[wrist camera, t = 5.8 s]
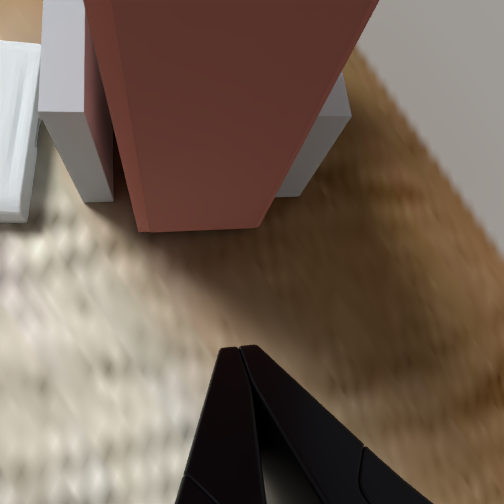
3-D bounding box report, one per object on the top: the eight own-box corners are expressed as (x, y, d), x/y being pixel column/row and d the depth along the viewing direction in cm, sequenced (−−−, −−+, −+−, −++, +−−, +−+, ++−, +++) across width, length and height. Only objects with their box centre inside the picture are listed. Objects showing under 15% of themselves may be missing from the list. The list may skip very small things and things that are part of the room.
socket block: (299, 196, 19) (417, 17, 10) (83, 202, 17) (-25, -15, 8) (274, 41, 21) (348, -217, 12) (84, 31, 20) (5, -283, 10)
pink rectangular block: (260, 240, 17) (465, -107, 5) (138, 246, 16) (30, -169, 4) (243, 108, 19) (363, -372, 7) (134, 106, 18) (51, -459, 6)
